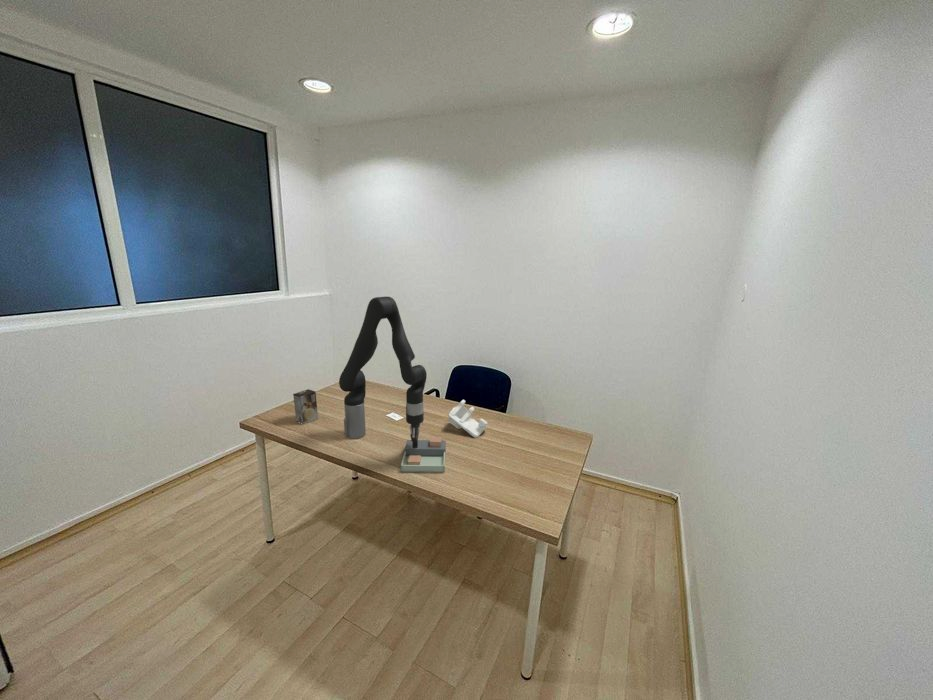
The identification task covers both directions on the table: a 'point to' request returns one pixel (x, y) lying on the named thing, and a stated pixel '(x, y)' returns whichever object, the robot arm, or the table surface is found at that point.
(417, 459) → the tile left
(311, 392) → the coffee box
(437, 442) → the tile right
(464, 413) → the tape dispenser
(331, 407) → the table surface
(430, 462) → the tray
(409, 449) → the grey flat block
